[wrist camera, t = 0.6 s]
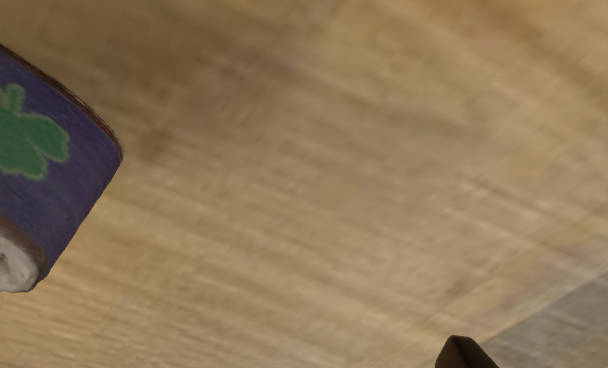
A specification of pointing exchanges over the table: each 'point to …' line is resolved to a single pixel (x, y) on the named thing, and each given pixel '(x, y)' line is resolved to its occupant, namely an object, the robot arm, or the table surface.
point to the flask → (45, 170)
